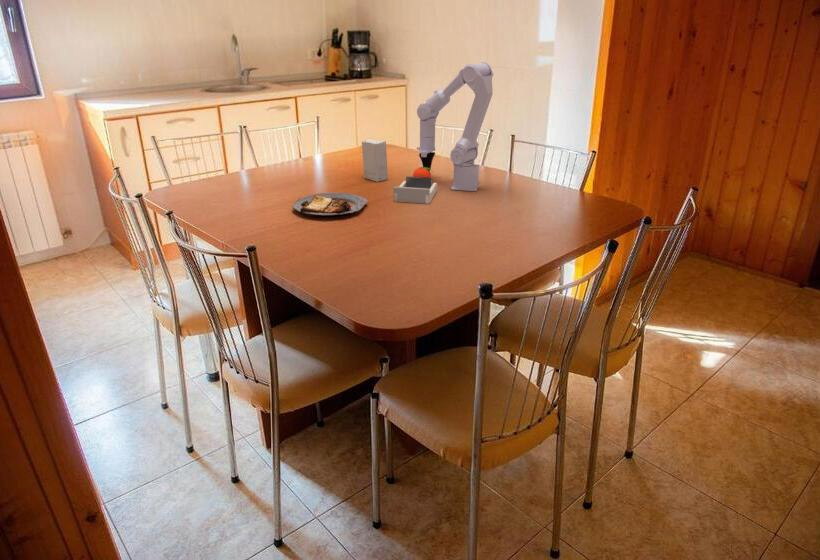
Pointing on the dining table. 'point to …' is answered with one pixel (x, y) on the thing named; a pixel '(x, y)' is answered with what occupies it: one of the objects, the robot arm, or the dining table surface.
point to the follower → (418, 182)
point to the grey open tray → (414, 194)
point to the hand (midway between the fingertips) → (426, 171)
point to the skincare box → (375, 160)
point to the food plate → (320, 203)
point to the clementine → (422, 172)
